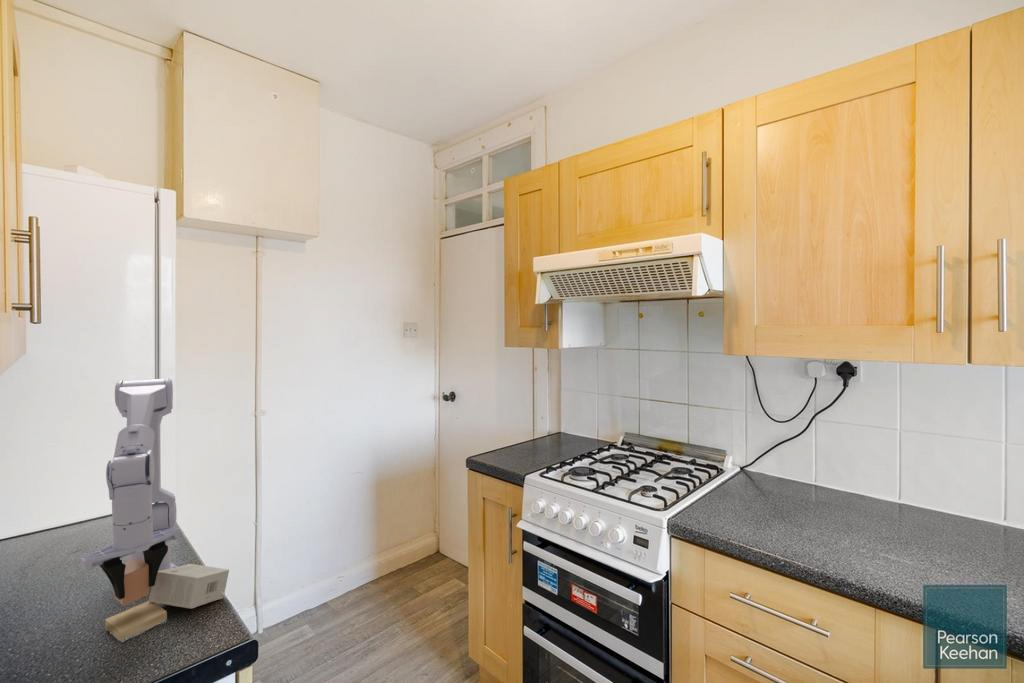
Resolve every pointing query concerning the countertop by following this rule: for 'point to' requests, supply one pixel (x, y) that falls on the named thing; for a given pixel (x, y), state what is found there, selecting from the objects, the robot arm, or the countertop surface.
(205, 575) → the small box
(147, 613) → the base slab
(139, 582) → the block
